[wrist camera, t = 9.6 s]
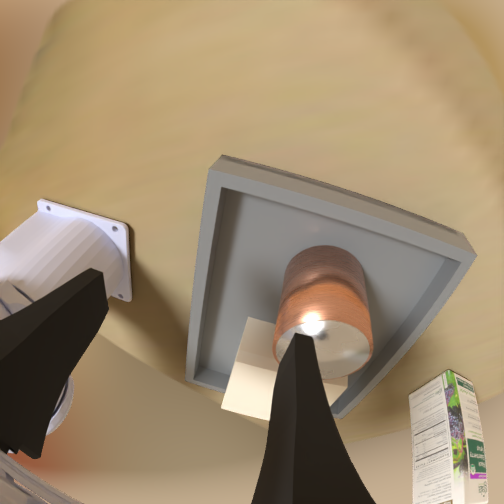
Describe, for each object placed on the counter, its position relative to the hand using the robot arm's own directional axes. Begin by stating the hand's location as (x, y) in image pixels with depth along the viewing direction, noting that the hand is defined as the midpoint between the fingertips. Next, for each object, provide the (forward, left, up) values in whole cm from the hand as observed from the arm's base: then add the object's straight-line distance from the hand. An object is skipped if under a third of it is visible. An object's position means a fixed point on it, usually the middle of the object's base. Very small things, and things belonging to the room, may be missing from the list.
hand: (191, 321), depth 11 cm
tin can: (+6, -4, -9) cm, 11 cm away
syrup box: (+24, -14, -10) cm, 30 cm away
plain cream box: (+6, -13, -9) cm, 17 cm away
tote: (+6, -8, -10) cm, 14 cm away
